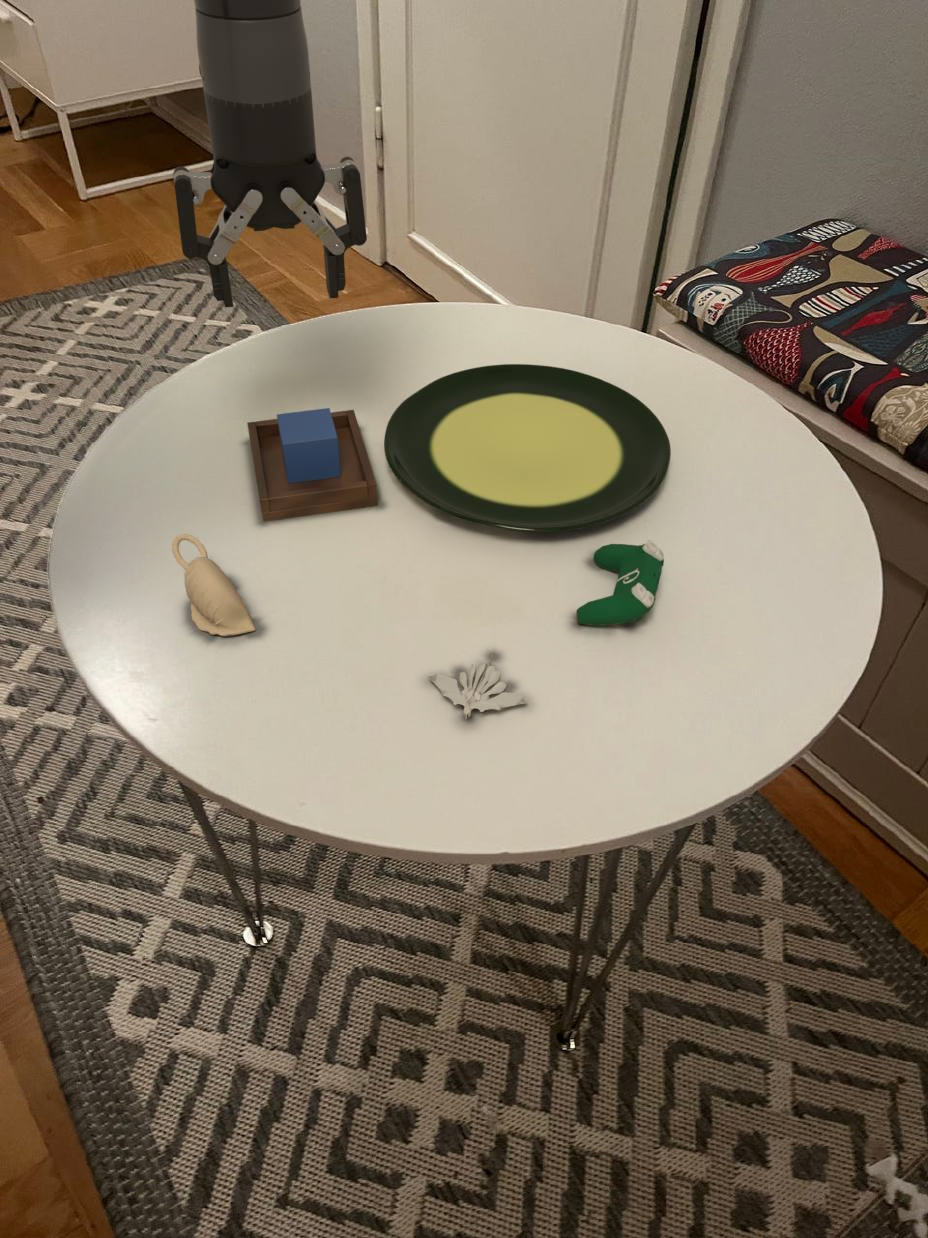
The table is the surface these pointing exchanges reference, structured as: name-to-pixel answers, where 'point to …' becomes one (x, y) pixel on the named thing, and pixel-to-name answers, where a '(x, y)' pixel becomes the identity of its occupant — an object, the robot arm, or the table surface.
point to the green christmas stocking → (625, 584)
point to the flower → (477, 690)
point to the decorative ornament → (212, 594)
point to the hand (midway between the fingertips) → (281, 298)
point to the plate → (527, 448)
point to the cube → (309, 445)
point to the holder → (318, 494)
